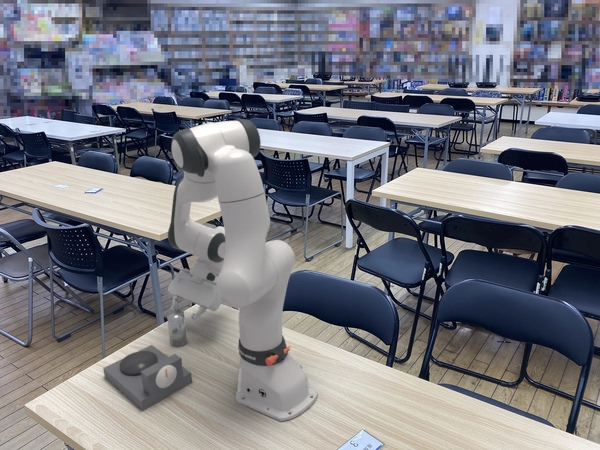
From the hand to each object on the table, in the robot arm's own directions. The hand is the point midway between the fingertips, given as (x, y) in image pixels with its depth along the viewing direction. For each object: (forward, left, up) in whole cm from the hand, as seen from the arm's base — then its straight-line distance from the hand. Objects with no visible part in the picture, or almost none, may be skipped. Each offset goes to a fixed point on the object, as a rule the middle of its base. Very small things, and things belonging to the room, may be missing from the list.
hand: (183, 315), depth 148 cm
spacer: (0, +3, -8) cm, 9 cm away
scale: (-10, +19, -8) cm, 23 cm away
